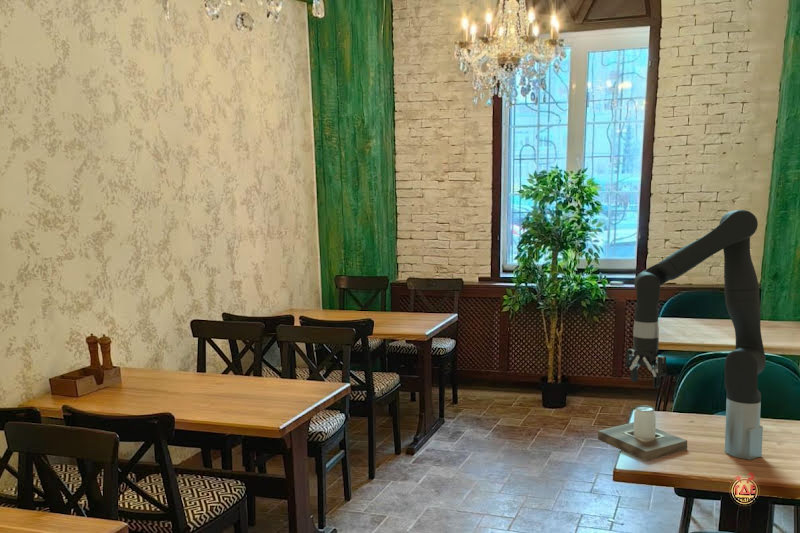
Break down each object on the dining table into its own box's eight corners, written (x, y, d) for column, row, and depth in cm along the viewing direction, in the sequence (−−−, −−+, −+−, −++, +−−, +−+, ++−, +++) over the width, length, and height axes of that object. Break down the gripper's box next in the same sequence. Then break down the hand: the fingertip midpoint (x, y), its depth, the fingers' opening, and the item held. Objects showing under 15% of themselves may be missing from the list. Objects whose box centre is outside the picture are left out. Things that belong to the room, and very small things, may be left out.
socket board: (687, 449, 196) (687, 439, 196) (646, 461, 188) (646, 450, 188) (636, 429, 214) (637, 420, 214) (597, 439, 206) (597, 430, 206)
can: (656, 448, 198) (657, 411, 197) (635, 447, 199) (636, 410, 198) (652, 441, 204) (653, 405, 203) (632, 439, 205) (632, 404, 204)
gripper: (673, 337, 194) (671, 388, 195) (636, 330, 206) (635, 377, 208) (656, 340, 190) (655, 392, 192) (620, 332, 203) (619, 381, 204)
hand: (645, 384), depth 200 cm, fingers open, 8 cm apart
